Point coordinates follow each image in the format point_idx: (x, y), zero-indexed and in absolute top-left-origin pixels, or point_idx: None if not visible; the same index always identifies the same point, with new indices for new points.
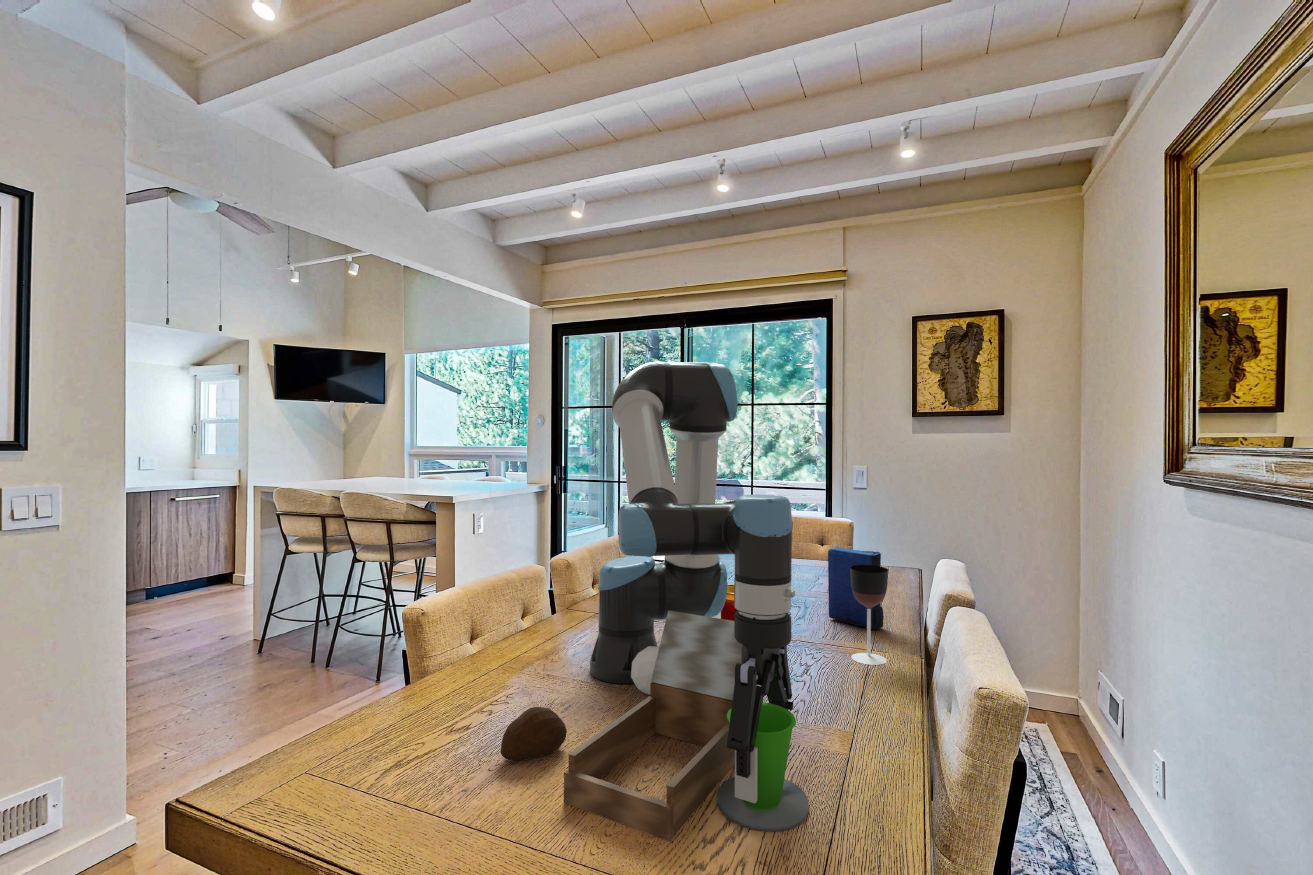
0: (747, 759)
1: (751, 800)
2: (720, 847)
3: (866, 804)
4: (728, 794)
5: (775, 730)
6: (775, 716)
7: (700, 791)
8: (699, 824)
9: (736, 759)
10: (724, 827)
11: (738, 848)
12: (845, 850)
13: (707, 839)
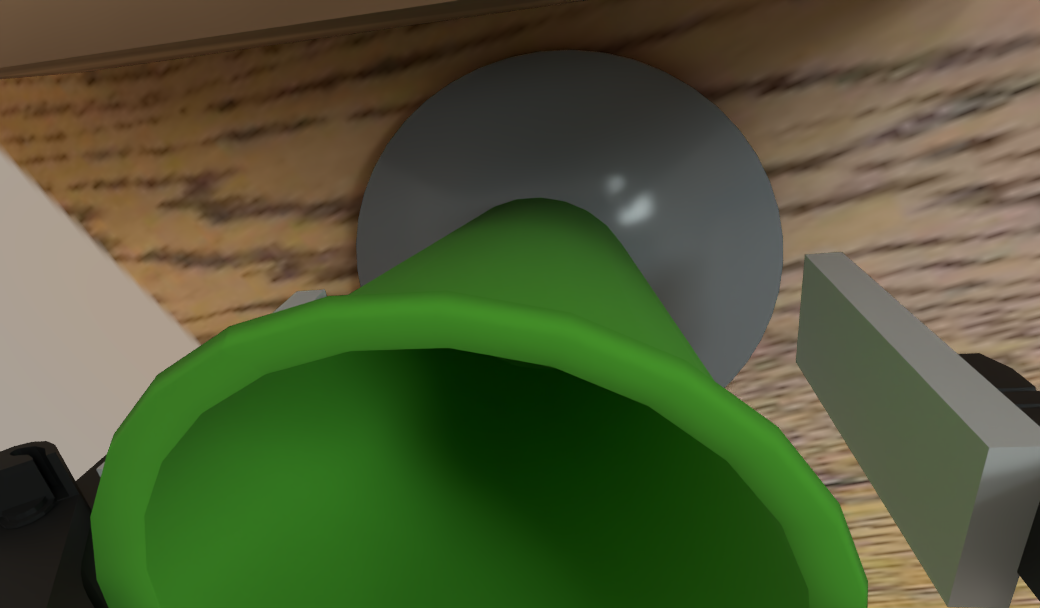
0: None
1: None
2: (216, 256)
3: None
4: (484, 136)
5: (714, 507)
6: (755, 605)
7: (343, 31)
8: (255, 114)
9: (102, 458)
10: (316, 213)
11: (260, 309)
12: None
13: (211, 194)
